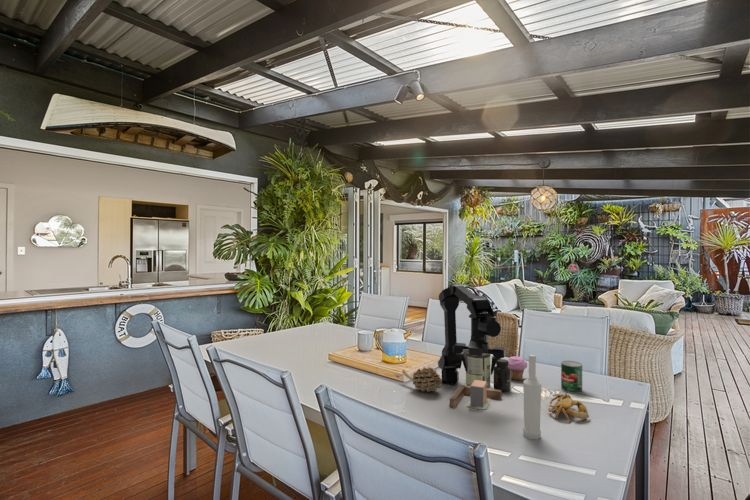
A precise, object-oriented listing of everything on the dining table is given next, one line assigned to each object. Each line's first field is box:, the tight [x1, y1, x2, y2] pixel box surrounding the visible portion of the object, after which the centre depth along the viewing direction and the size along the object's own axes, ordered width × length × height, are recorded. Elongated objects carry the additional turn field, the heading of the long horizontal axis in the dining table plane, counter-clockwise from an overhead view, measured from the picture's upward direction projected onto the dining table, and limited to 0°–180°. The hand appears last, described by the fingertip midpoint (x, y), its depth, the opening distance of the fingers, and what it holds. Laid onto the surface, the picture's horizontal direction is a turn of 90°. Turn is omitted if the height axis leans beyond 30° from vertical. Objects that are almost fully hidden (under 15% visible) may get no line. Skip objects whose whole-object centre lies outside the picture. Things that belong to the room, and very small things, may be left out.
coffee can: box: [465, 351, 492, 389], centre depth 173 cm, size 10×10×14 cm
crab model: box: [547, 392, 590, 423], centre depth 143 cm, size 16×13×6 cm
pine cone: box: [401, 366, 443, 393], centre depth 168 cm, size 22×10×10 cm, turn 44°
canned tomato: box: [560, 360, 583, 395], centre depth 167 cm, size 8×8×11 cm
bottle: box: [522, 354, 542, 440], centre depth 127 cm, size 5×5×25 cm
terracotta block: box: [470, 380, 487, 407], centre depth 153 cm, size 8×4×7 cm, turn 155°
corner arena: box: [449, 384, 502, 411], centre depth 154 cm, size 16×17×3 cm
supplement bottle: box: [493, 358, 512, 393], centre depth 168 cm, size 7×7×12 cm
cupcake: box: [507, 355, 528, 381], centre depth 182 cm, size 9×9×10 cm
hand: (478, 373), depth 153 cm, fingers open, 9 cm apart
